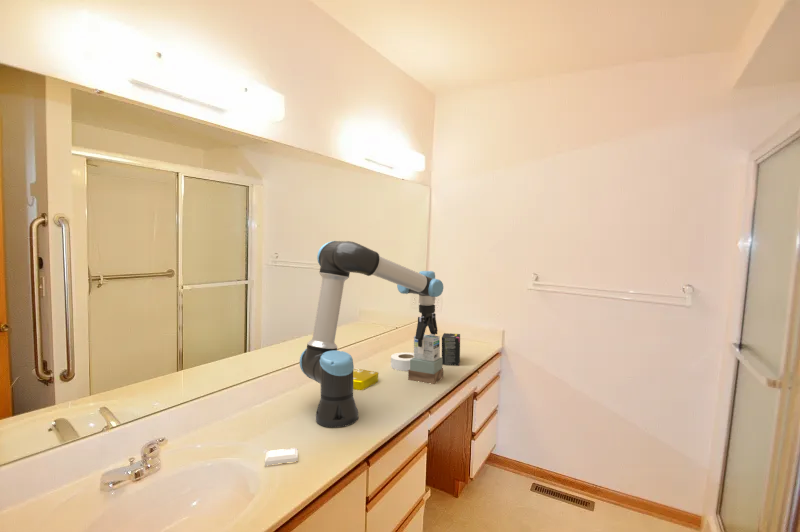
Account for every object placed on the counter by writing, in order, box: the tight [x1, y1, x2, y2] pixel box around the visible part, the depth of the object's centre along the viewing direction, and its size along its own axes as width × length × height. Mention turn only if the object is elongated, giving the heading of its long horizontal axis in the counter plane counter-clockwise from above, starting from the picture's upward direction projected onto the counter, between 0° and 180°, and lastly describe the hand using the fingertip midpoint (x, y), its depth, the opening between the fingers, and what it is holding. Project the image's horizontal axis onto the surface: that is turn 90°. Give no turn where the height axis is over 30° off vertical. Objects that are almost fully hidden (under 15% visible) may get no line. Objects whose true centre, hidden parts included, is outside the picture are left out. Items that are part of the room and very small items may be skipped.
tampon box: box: [441, 332, 461, 367], centre depth 215 cm, size 11×9×15 cm
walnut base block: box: [407, 367, 444, 385], centre depth 190 cm, size 11×13×5 cm
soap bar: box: [264, 447, 299, 467], centre depth 118 cm, size 5×9×3 cm, turn 104°
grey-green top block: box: [410, 357, 443, 374], centre depth 189 cm, size 10×12×5 cm
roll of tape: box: [390, 351, 414, 372], centre depth 209 cm, size 16×16×6 cm
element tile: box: [353, 367, 379, 391], centre depth 184 cm, size 15×15×5 cm
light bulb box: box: [413, 333, 441, 362], centre depth 189 cm, size 11×7×11 cm, turn 58°
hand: (426, 350), depth 190 cm, fingers open, 11 cm apart
